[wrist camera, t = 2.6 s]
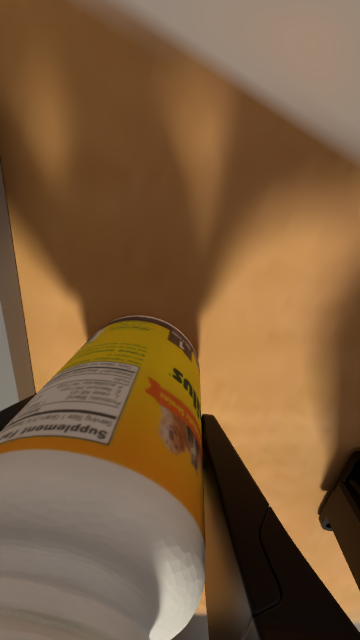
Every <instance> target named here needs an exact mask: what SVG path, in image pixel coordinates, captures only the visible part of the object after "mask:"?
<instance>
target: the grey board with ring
mask: <svg viewBox="0 0 360 640" xmlns="http://www.w3.org/2000/svg"><path fill="white" fill-rule="evenodd" d="M34 394H35V388H34V382H33V375H32V369H31V362H30V355H29V349H28V342H27V335H26V329H25V322H24V316H23V309H22V302H21V296H20V289H19V283H18V276H17V269H16V263H15V256H14V249H13V243H12V236H11V230H10V223H9V216H8V210H7V203H6V196H5V190H4V183H3V177H2V170H1V163H0V411H1V410H3V409H5V408H7V407H9V406H11V405H13V404H15V403H17V402H19V401H21V400H23V399H25V398H27V397H29V396H31V395H34Z"/></svg>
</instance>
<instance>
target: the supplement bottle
mask: <svg viewBox="0 0 360 640" xmlns="http://www.w3.org/2000/svg"><path fill="white" fill-rule="evenodd" d="M204 581H205V514H204V484H203V449H202V422H201V395H200V370H199V362H198V358H197V355H196V352H195V350H194V348H193V346H192V344H191V343H190V341H189V340H188V339H187V337H186V336H185V335H184V334H183V333H182V332H181V331H180V330H178V329H177V328H176V327H175V326H173V325H171V324H170V323H168V322H166V321H164V320H161V319H158V318H155V317H151V316H144V315H133V316H125V317H122V318H118V319H116V320H113V321H111V322H109V323H108V324H106V325H104V326H103V327H102V328H101V329H99V330H98V331H97V332H96V333H95V334H94V335H93V336H92V337H91V338H90V339H89V340H88V341H87V342H86V343H85V344H84V345H83V346H82V347H81V348H80V350H79V351H78V352H77V353H76V354H75V355H74V356H73V357H72V358H71V359H70V360H69V361H68V362H67V363H66V364H65V365H64V366H63V367H62V368H61V369H60V370H59V371H58V372H57V373H56V374H55V376H54V377H53V378H52V379H51V380H50V381H49V382H48V383H47V384H46V385H45V386H44V387H43V388H42V389H41V390H40V391H39V392H38V393H37V394H36V395H35V396H34V397H33V398H32V399H31V400H30V401H29V402H28V404H27V405H26V406H25V407H24V408H23V409H22V410H21V411H20V412H19V413H18V414H17V415H16V416H15V417H14V418H13V419H12V420H11V421H10V422H9V423H8V424H7V425H6V426H5V427H4V428H3V429H2V431H1V432H0V640H171V639H172V638H173V637H174V636H176V635H177V634H178V633H179V632H180V631H181V630H182V629H183V628H184V627H185V626H186V625H187V623H188V622H189V620H190V619H191V617H192V616H193V614H194V612H195V611H196V609H197V607H198V604H199V602H200V599H201V595H202V591H203V587H204Z"/></svg>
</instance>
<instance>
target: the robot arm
mask: <svg viewBox="0 0 360 640" xmlns="http://www.w3.org/2000/svg"><path fill="white" fill-rule="evenodd" d="M36 394H37V393H36ZM36 394H34V395H31V396H29V397H27V398H25V399H23V400H21V401H19V402H17V403H15V404H13V405H11V406H9V407H7V408H5V409H3V410H1V411H0V432H1V431H2V429H3V428H4V427H5V426H6V425H7V424H8V423H9V422H10V421H11V420H12V419H13V418H14V417H15V416H16V415H17V414H18V413H19V412H20V411H21V410H22V409H23V408H24V407H25V406H26V405H27V404H28V402H29V401H30V400H31V399H32V398H33V397H34V396H35V395H36ZM201 422H202V449H203V484H204V514H205V581H204V582H205V596H206V609H207V623H208V636H209V640H360V632H359V631H358V630H357V628H356V627H355V626H354V624H353V623H352V622H351V620H350V619H349V618H348V616H347V615H346V613H345V612H344V611H343V609H342V608H341V607H340V605H339V604H338V603H337V601H336V600H335V599H334V597H333V596H332V594H331V593H330V592H329V590H328V589H327V588H326V586H325V585H324V584H323V582H322V581H321V580H320V578H319V577H318V576H317V574H316V573H315V571H314V570H313V569H312V567H311V566H310V565H309V563H308V562H307V560H306V559H305V558H304V556H303V555H302V553H301V552H300V551H299V549H298V548H297V546H296V545H295V544H294V542H293V541H292V539H291V538H290V536H289V535H288V533H287V532H286V530H285V528H284V527H283V525H282V524H281V522H280V521H279V519H278V518H277V516H276V514H275V513H274V511H273V510H272V508H271V507H269V503H268V502H267V500H266V498H265V497H264V495H263V494H262V492H261V490H260V489H259V487H258V486H257V484H256V482H255V481H254V479H253V478H252V476H251V474H250V473H249V471H248V470H247V468H246V466H245V465H244V463H243V462H242V460H241V458H240V457H239V455H238V454H237V452H236V450H235V449H234V447H233V446H232V444H231V442H230V441H229V439H228V437H227V436H226V434H225V433H224V431H223V429H222V428H221V426H220V425H219V423H218V421H217V420H216V418H215V417H214V416H213V415H209V414H203V415H202V417H201ZM319 521H320V524H321V526H322V528H323V529H324V530H328V531H333V532H334V535H335V537H336V539H337V541H338V543H339V546H340V548H341V550H342V552H343V555H344V557H345V559H346V561H347V563H348V566H349V568H350V570H351V572H352V575H353V577H354V579H355V581H356V583H357V586H358V588H359V590H360V451H356V452H354V453H353V454H352V455H351V456H350V458H349V460H348V462H347V464H346V466H345V468H344V470H343V472H342V474H341V476H340V477H339V479H338V481H337V483H336V485H335V487H334V489H333V491H332V493H331V495H330V497H329V499H328V501H327V503H326V504H325V506H324V508H323V510H322V512H321V514H320V516H319Z"/></svg>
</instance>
